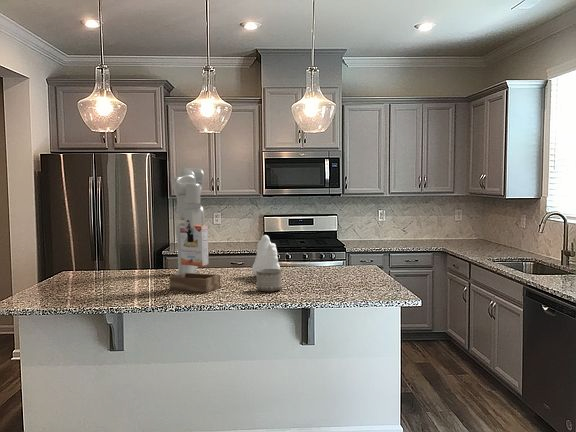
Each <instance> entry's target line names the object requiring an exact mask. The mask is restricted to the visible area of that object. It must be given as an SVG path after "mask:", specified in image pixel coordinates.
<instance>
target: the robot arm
mask: <svg viewBox="0 0 576 432" xmlns="http://www.w3.org/2000/svg"><path fill="white" fill-rule="evenodd" d="M204 182H205V173H204V170H203V168H200V167H184V168H182V169H180V170H179V172H178V176H177V177H174V178H173V179H172V189H173V191H174V193H175V196H176V201H177V203H176V206H177V207H176V208H177V216H178V220H180V221H183V222H181V223H178V224H177V225H176V227H175V234H176V240H177V241H176V242H177V262H178V265H177V267H178V268H177V269H178V271H176V272H175V275H179V274H182V273H198V271H197V269H198V267H199V266H192V265H181V237H180V226H181V225H184V229H185V230H186V232H187V240H188V242H193V234H192V233H193V229H194V226H197V225H203V226H206V224H205V223H206V221H205V220H206V219H205V209H204V207H203V205H201V204H202V203H201V194H202V193H203V186H204ZM190 230H191V231H190Z"/></svg>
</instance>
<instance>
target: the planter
mask: <svg viewBox="0 0 576 432" xmlns="http://www.w3.org/2000/svg"><path fill="white" fill-rule="evenodd" d="M256 274H257V276H256V289H257V291H261V292H263V293H264V292H266V293H273V292H276V291H280V290H282V269H281V268H280V269H272V268H269V269H259V270H257V271H256Z"/></svg>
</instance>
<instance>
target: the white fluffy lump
mask: <svg viewBox="0 0 576 432" xmlns="http://www.w3.org/2000/svg"><path fill="white" fill-rule="evenodd" d="M260 239H261V240H259V241H258V243H257V245H256V246H257V249H256V256H255V259H254V262H253V265H252V267H251V272H252V274H253V275H254V276H255V277H257V274H256V271H257V270H259V269H269V268H272V269H280V270H281V265H280V263H279V257H278V250H277V249H278V248H277V245H276V243H273V242H272V241H271V239H270V236H269V235H267V234H264V235H262V236H261V238H260Z"/></svg>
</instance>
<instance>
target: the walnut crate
mask: <svg viewBox="0 0 576 432" xmlns="http://www.w3.org/2000/svg"><path fill="white" fill-rule="evenodd" d="M219 289H221V274H212V273H211V274H210V273H198V272H197V273H182V274H179V275H176V274H175V275H172V276H170V277H169V290H170V291H171V292H173V291H174V292H184V293H194V294H195V293H196V294H197V293H199V294H208V293H212V292H214V291H216V290H219Z"/></svg>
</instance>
